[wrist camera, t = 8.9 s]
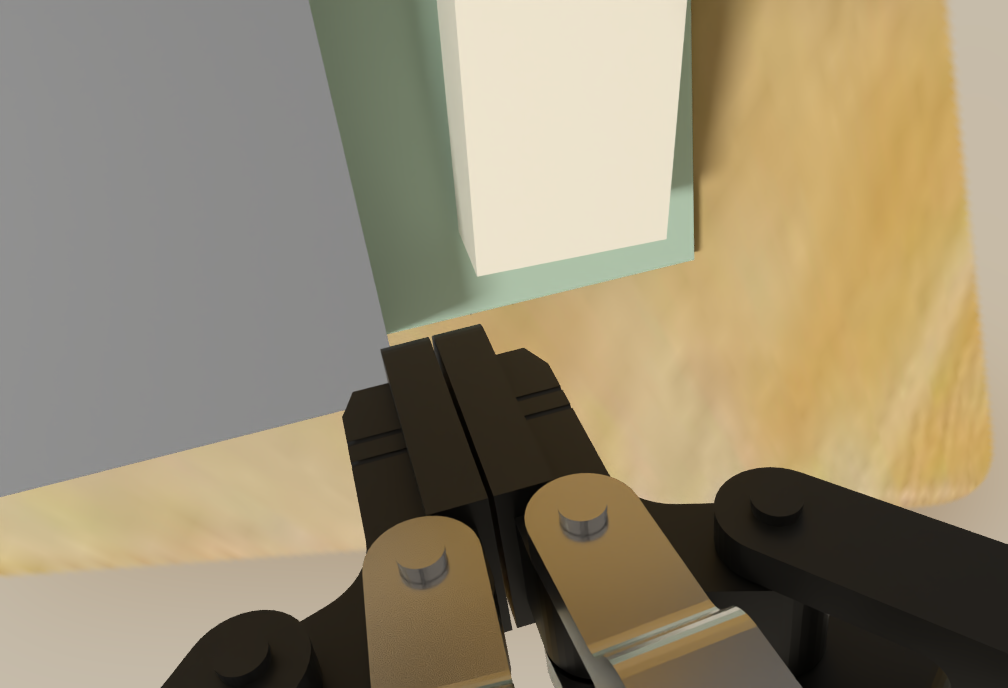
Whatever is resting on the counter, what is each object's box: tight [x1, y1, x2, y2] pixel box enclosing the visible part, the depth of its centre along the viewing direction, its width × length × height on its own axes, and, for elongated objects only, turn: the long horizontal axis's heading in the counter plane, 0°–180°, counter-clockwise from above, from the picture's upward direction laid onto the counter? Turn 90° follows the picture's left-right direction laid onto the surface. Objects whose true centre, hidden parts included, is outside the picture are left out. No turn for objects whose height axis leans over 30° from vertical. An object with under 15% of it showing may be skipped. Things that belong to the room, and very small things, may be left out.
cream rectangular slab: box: [437, 0, 687, 277], centre depth 26 cm, size 9×6×4 cm, turn 5°
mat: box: [309, 0, 694, 334], centre depth 27 cm, size 16×11×1 cm
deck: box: [0, 0, 390, 497], centre depth 24 cm, size 16×14×4 cm
